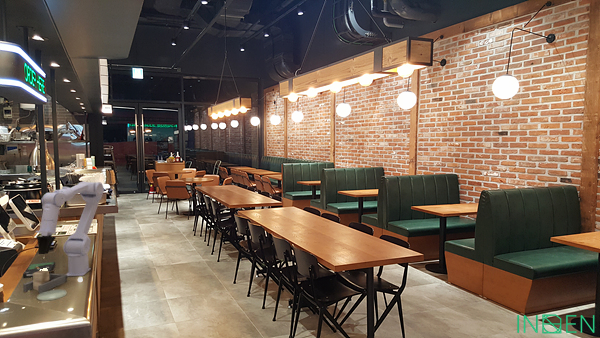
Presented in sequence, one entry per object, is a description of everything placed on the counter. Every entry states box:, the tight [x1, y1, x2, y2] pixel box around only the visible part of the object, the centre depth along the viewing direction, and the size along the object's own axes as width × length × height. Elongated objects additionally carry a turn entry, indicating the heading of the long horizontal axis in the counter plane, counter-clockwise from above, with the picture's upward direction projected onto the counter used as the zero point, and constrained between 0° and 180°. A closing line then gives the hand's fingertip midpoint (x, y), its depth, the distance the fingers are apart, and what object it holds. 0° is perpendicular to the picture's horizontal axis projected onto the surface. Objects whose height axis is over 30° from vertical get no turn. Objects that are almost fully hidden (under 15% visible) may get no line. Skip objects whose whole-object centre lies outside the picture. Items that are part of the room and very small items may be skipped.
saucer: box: [36, 288, 68, 302], centre depth 156 cm, size 10×10×1 cm
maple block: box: [32, 270, 49, 291], centre depth 163 cm, size 4×4×7 cm
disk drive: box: [22, 261, 56, 279], centre depth 183 cm, size 10×3×15 cm
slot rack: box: [22, 272, 68, 294], centre depth 166 cm, size 14×8×3 cm, turn 169°
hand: (43, 253), depth 161 cm, fingers open, 7 cm apart
